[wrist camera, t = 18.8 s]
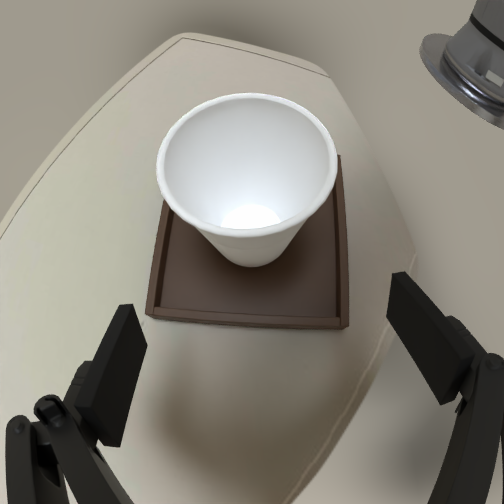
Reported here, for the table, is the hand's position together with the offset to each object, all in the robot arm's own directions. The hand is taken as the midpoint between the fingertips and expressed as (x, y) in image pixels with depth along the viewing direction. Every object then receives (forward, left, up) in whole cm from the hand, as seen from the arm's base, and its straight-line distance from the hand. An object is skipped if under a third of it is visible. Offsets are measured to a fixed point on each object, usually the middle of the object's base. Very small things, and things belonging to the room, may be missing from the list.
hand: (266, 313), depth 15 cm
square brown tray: (+2, -8, -10) cm, 13 cm away
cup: (+2, -8, -9) cm, 12 cm away
